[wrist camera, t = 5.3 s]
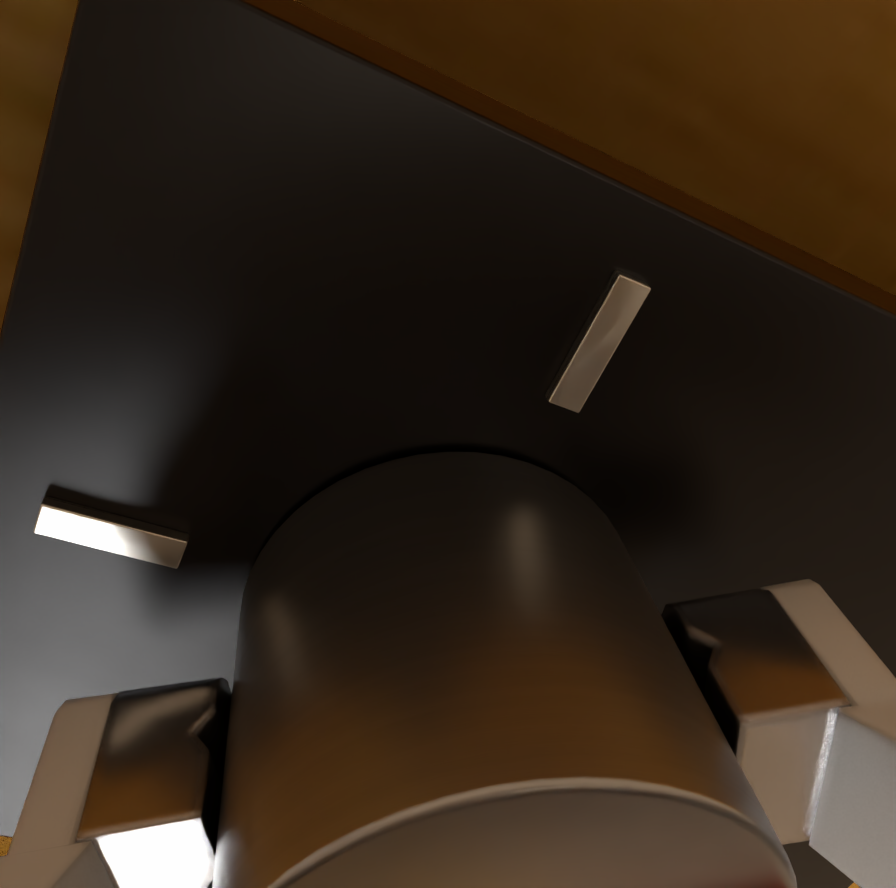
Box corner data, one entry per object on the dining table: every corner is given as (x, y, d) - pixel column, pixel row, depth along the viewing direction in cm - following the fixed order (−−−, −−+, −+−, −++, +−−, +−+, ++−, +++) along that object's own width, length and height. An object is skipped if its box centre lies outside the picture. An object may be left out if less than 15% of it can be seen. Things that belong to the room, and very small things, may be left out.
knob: (282, 777, 11) (268, 1219, 7) (196, 484, 8) (108, 915, 5) (624, 715, 11) (785, 1106, 7) (632, 419, 9) (872, 769, 5)
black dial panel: (-29, 644, 13) (-121, 833, 10) (157, -67, 9) (87, -73, 6) (717, 797, 17) (793, 956, 14) (1072, 382, 13) (1271, 496, 10)
